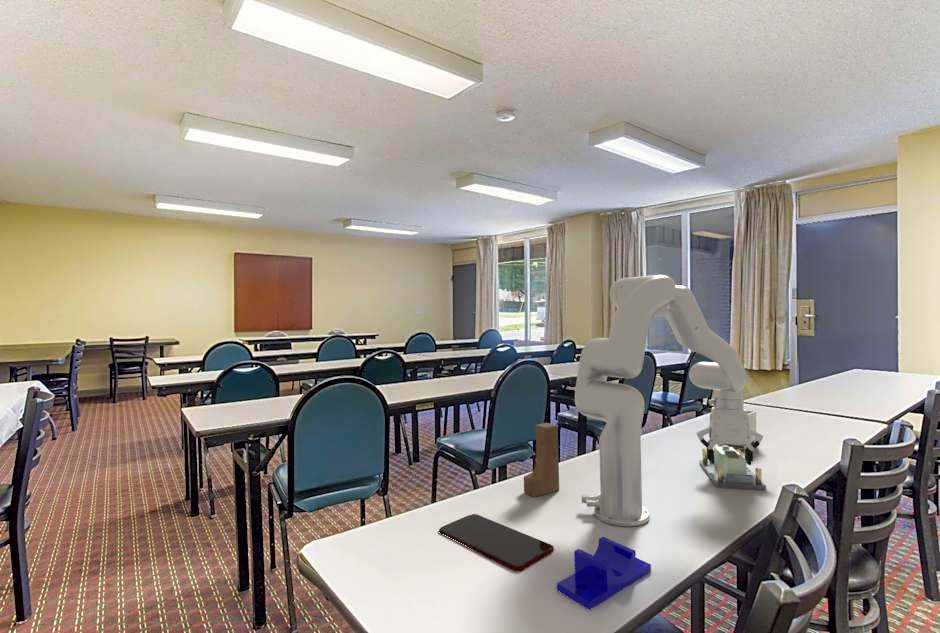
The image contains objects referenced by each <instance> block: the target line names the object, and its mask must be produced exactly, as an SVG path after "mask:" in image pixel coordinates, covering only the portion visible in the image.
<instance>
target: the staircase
mask: <svg viewBox="0 0 940 633" xmlns="http://www.w3.org/2000/svg"><path fill="white" fill-rule="evenodd" d="M746 410H747V412H748V416H749V422H750V429H751V430H753V431H755V432H757V411H756V410H748V409H746ZM755 438H756V437H755V436H753V435H751V443H752V442H753V441H754V440H755ZM717 446H719V447H722V446H723V445H721V444H717ZM730 447H733V448H734V449H735V450H737V449H738V450H741V453H744V454H745V448H746V446H745V445H730Z"/></svg>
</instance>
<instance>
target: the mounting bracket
mask: <svg viewBox="0 0 940 633" xmlns="http://www.w3.org/2000/svg"><path fill="white" fill-rule="evenodd" d="M636 552H637V551H636V550H634V549H632V548H630V547H627V546H625V545H623V544H621V543H619V542H617V541H614V540H612V539H610V538H608V537H605V536H601V537H599V538H598V546H597V548H596V550H595V552H594V555H592V554H591V553H588V552H586V551H584V550H583V549H580V548H577V549H575V550H574V554H573V555H574V557H573V558H574V573H573V574H571V575H569V576H567V577H565V578H564V579H562V580H560V581H558V582H556V590H558V591H557V592H559V591H560V592H561V594H562V593H563V594H562V595H564V596H565V595H566V596H565V597H567V596H568V597H569V599H570V600H572V601H573V600H574V601H573V602H575V601H576V602H575V603H577V604H578V603H579V605H580V604H581V605H580V606H582V607H583V606H584V608H585V607H586V609H587V608H588V609H591V608H593V607H594V608H595V606H596V607H597V606H599V605H601V604H603V603H604V602H605V601H606V600H609V599H610V598H612V597H613V596H615V595H617V594H618V593H620V592H621V591H622V590H624V589H626V588H627V587H630V586H631V585H632V584H634V583H636V582H637V581H639V580H641V579H643V577H645V576H646V575H648V574H650V573H652V564H651V563H649V562H646V561H644V560H642V559H640V558H638V557H636V555H637V554H636ZM619 591H620V592H619ZM560 592H559V593H560ZM617 592H618V593H617ZM614 594H615V595H614ZM611 596H612V597H611ZM568 597H567V598H568ZM598 604H599V605H598ZM594 608H593V609H594ZM588 609H587V610H588ZM591 610H592V609H591Z"/></svg>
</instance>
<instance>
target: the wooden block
mask: <svg viewBox="0 0 940 633" xmlns="http://www.w3.org/2000/svg"><path fill="white" fill-rule="evenodd" d="M558 427H559V426H558V425H556V424H553V423H549V422H543V423H540V424H535V449H536V454H535V456H536V462H535V467H534V468H533V470H532V472H531V473H528V474H526V475H524V476H523V492H524V493H525V494H527V495H529V496H531V497H532V498H536V497H539V496H543V495H547V494H551V493H554V492H559V491H560V467H559V463H560V462H559V432H558V431H559V428H558Z"/></svg>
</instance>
